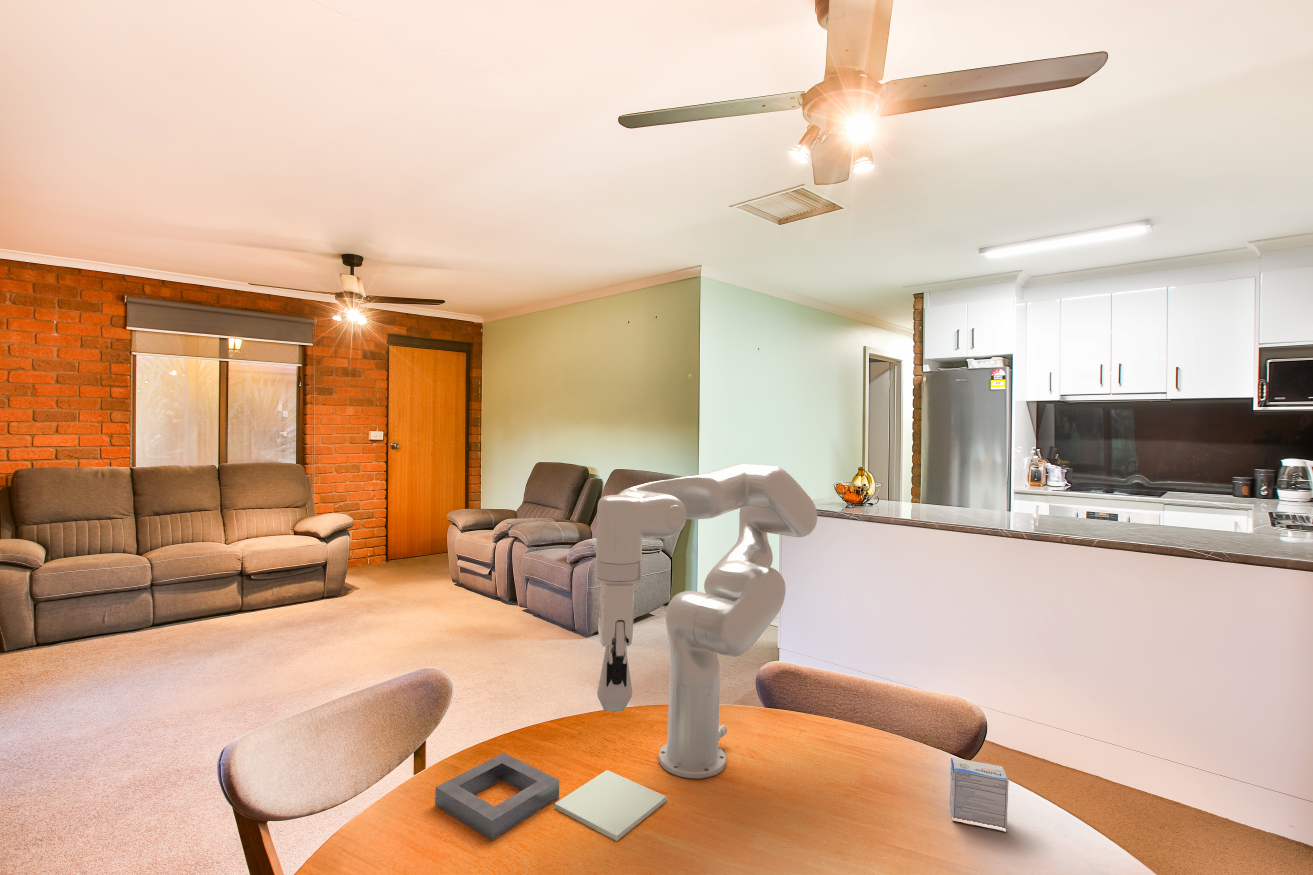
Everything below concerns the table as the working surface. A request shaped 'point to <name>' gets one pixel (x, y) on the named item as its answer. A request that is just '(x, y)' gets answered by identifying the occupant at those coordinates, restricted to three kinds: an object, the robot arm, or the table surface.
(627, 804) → the mat
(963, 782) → the medicine box
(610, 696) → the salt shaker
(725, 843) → the table surface
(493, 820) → the grey square frame
